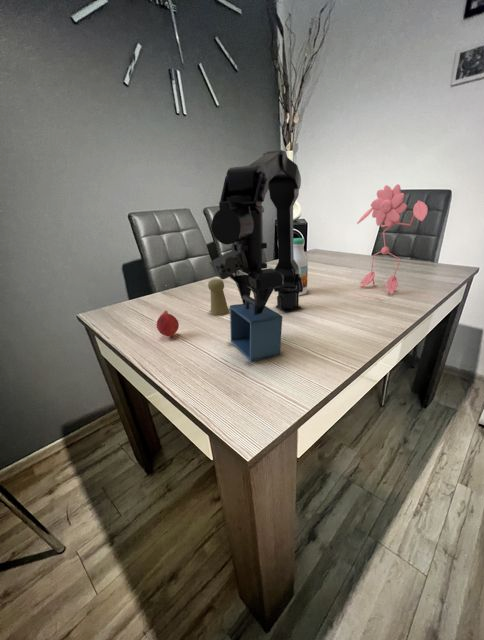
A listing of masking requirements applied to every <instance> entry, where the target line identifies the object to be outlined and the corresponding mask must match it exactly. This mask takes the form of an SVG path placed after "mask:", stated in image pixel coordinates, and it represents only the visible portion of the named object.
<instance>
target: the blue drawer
mask: <svg viewBox="0 0 484 640" xmlns="http://www.w3.org/2000/svg"><path fill="white" fill-rule="evenodd" d="M242 298H243V300H245V305H244V304H243V303H239V304H232V305H229V323H230V342H231V343H232V344H233V345H234V346H235V347H236V348H237V350H239V351H240V352H241V353H242V354H243V355H244V356H245V358H246V359H248V361H250V362H255V361H260V360H263V359H267V358H272V357H275V356H280V355H281V346H282V345H281V344H282V330H283V329H282V328H283V315H281V314H280V313H278V312H276V311H275V310H273V309H271V308H270V307H268V306H266V305H265V307H264V309H263V311H262V313H260V314H257V312H256V307H255V300H254V297H252V296H251V295H250V296H248V295H246V294H244V295H243V297H242Z"/></svg>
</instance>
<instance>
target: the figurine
mask: <svg viewBox="0 0 484 640" xmlns="http://www.w3.org/2000/svg"><path fill="white" fill-rule="evenodd" d="M376 197H377V198H376V199H373V201H372V202H371V204H370V208H369V209H368V210H367V211H366V212H364V214H363V215H362V216H361V217H360V218H359V220H358V221H357V222H356V224H357V225H358V224H360V223H361V222H363V221H364V220H365V219H366V218H367V217H369V216H370V214H371V217H372V218H375V224H376V225H377V226H380V227H381V228H384V227H387V228H385V229H384V230H383V231H382V237H383V238H382V239H383V244H384V246H383V247H382V248H381V250H380V251H378V252H376V253H375V254H372V261H371V270H370V272H369V273H367V274H366V275H365V276H364V277H363V279H362V281H361V282H360V283H361V284H360V287H361V288H363V287H365V286H367V285H369V284H370V283H371V282H372V286H373V287H375V286H376V284H375V279H374V278H375V275H376V273H375V272H374V271H373V270H374V269H373V268H374V258H375V256H376V255H379V254H382V255H387V254H388V255H390V256H392V257H394V258H396V259H397V260H398V263H397V265H396V268H395V271H394V273H393V276H390V277H389V278H388V279H387V281H386V290H387V291H388V293H389V294H390V295H392V294H393V293H395V292H396V290H397V289H398V286H399V280H398V278H397V277H396V274H397V271H398V269H399V266H400V262H401V258H399V256H396V255H394V254H393V253H391V252H390V247H389V246H387V245H386V235H385V232H386V231H388V230H390V228H391V227H393V226H394V225H401V226H405V227H407V226H408V227H411V226H412V224H413V221H414V219H415V218H416V220H419V221H420V222H424V220H425V219H426V216H427V215H428V205H427V204H426V203H425V202H424V201H421V200H417V202H416V203H414V206H413V209H412V214H413V215H412V217H411V219H410V222H409V223H406V222H405V223H404V222H399V221H400V219H401V215H400V214H402V213H404V212H405V211H406V210H407V208H408V205H407V204H406V203H404V202H403V201H404V200H405V193H404V192H402V189H401V185H400V184H399V183H398V184H396V185H395V186H394V187H393V188H391V186H389V185H387V184H386V185H385V186H384V187H383V189H379V190H377V191H376ZM383 223H384V224H383ZM354 295H358V296H360V297H362V298H363V297H364V298H367V296H365V295H362V294H360V293H359V294H358V293H355V292H354ZM369 298H370V299H372V297H371V296H368V299H369ZM374 299H375V300H380V298H377V297H374Z"/></svg>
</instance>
